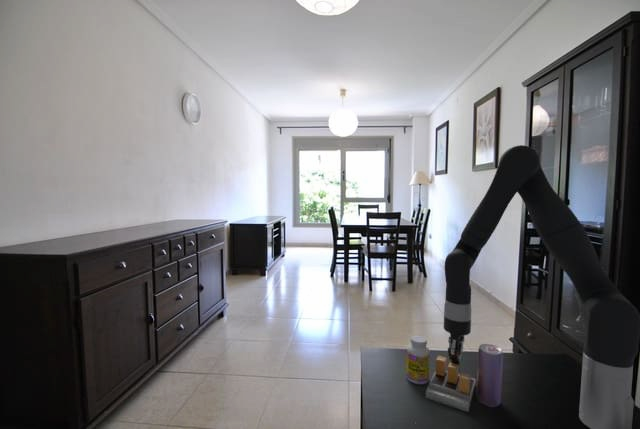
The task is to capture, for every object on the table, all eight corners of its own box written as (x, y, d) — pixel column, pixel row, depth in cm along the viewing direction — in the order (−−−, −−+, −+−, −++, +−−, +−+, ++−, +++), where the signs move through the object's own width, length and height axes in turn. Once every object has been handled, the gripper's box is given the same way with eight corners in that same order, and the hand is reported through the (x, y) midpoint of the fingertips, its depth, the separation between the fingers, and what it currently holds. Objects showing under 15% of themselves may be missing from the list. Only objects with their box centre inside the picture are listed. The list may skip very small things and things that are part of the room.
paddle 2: (458, 379, 96) (458, 363, 96) (456, 384, 93) (456, 368, 93) (449, 376, 97) (449, 361, 97) (447, 381, 95) (447, 366, 94)
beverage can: (503, 409, 86) (506, 355, 85) (479, 406, 87) (482, 352, 86) (496, 395, 92) (498, 344, 91) (473, 392, 93) (476, 342, 92)
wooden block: (446, 371, 100) (446, 357, 99) (444, 376, 97) (444, 361, 97) (437, 369, 101) (438, 354, 101) (435, 374, 99) (436, 359, 98)
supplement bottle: (403, 381, 99) (405, 340, 98) (408, 370, 105) (409, 332, 104) (426, 387, 96) (428, 345, 95) (430, 376, 101) (431, 336, 100)
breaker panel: (475, 385, 97) (475, 374, 97) (468, 412, 85) (469, 400, 85) (436, 374, 103) (437, 364, 103) (425, 397, 91) (426, 386, 91)
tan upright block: (470, 390, 90) (470, 374, 90) (468, 396, 88) (469, 379, 88) (460, 387, 92) (461, 371, 91) (458, 393, 89) (459, 376, 89)
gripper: (467, 326, 90) (465, 385, 91) (474, 311, 101) (471, 364, 102) (439, 320, 94) (437, 377, 95) (448, 306, 105) (446, 358, 106)
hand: (455, 370), depth 99 cm, fingers closed
